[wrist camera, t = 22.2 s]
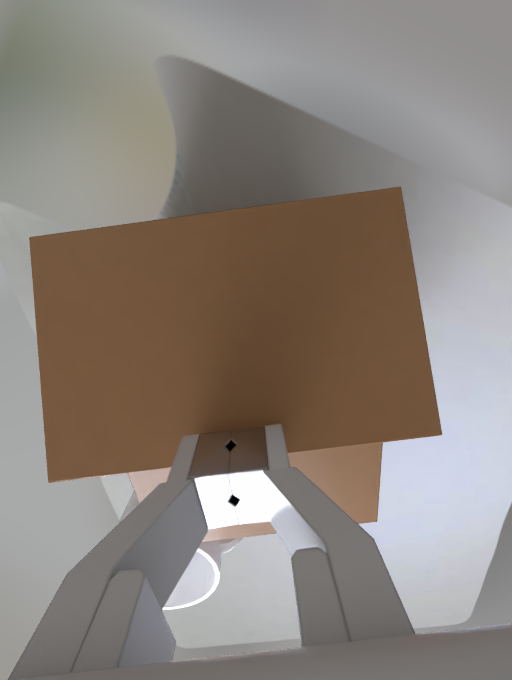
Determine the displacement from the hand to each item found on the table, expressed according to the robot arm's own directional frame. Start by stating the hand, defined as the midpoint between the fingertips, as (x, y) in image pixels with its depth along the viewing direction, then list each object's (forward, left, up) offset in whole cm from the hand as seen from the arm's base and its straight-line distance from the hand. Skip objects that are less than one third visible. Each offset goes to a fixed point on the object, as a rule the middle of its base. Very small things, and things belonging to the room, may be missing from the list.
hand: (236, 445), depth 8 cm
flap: (-3, 0, -2) cm, 4 cm away
